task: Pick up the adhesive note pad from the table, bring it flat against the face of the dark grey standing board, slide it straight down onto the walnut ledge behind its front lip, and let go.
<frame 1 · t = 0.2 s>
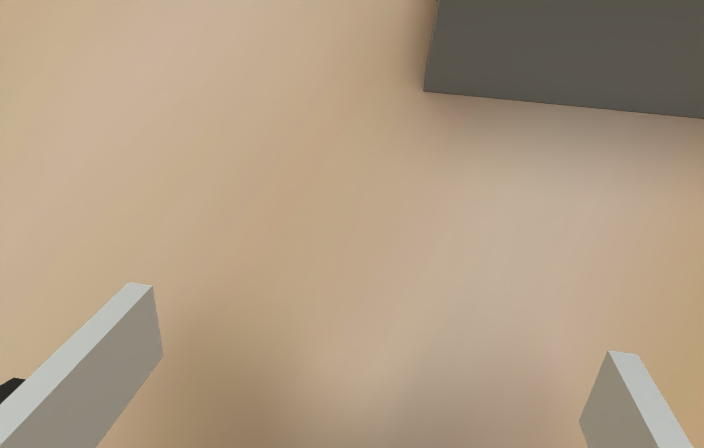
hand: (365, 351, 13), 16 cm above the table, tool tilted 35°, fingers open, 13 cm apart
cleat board: (591, 93, 30), on the table
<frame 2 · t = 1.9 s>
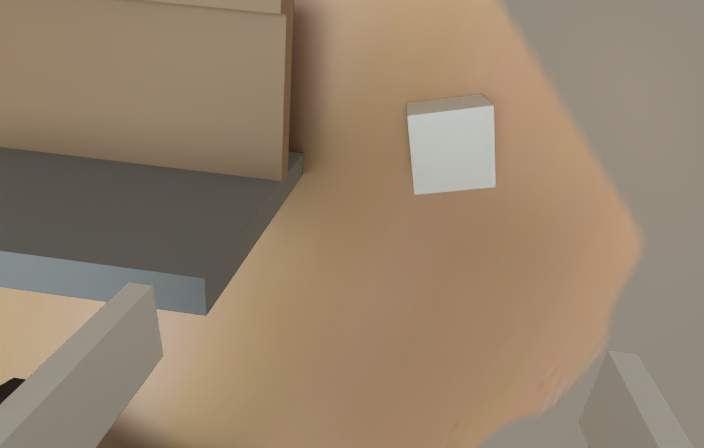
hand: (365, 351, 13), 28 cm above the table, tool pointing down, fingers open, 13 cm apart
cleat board: (183, 149, 41), on the table
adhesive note: (445, 133, 39), on the table
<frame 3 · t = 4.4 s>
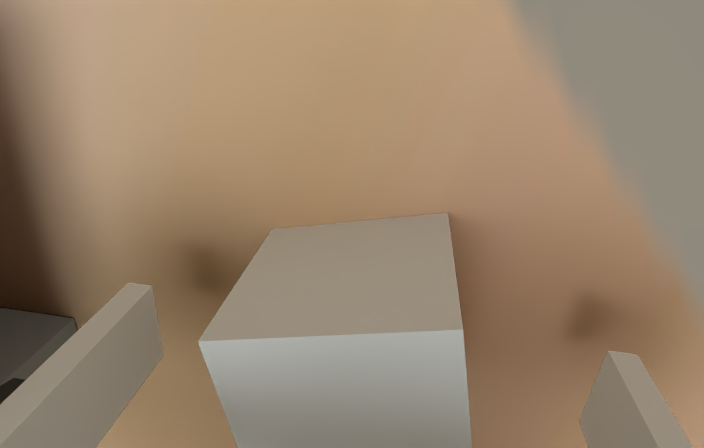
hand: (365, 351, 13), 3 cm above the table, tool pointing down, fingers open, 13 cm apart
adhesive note: (370, 291, 17), on the table
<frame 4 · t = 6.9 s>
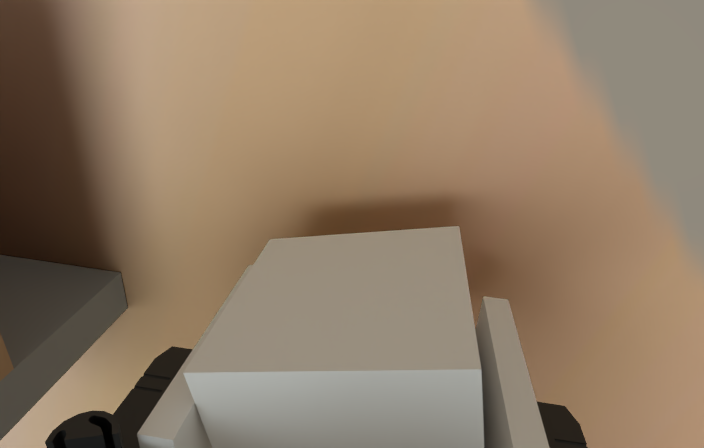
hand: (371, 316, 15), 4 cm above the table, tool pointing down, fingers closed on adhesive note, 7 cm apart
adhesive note: (373, 308, 16), point 3 cm above the table, touching gripper
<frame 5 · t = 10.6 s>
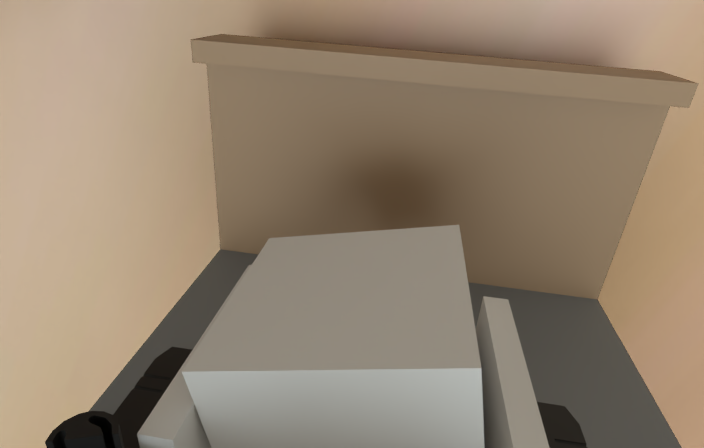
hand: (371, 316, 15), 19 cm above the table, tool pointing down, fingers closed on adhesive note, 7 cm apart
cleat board: (404, 227, 34), on the table
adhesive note: (373, 307, 16), point 18 cm above the table, touching gripper
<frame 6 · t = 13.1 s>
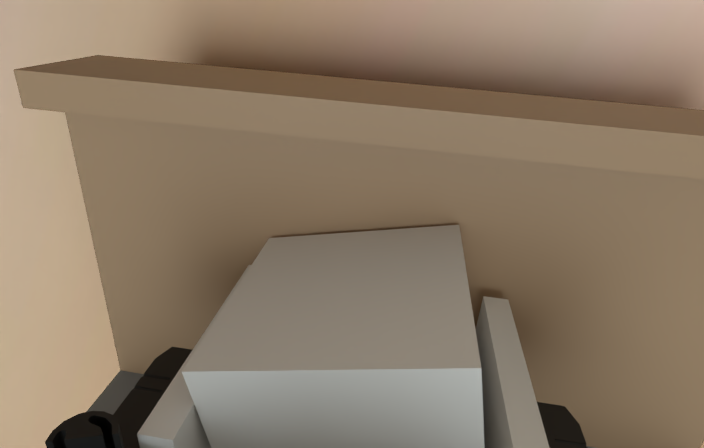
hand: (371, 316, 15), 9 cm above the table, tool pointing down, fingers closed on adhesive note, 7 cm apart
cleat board: (396, 309, 25), on the table
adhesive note: (373, 307, 16), point 8 cm above the table, touching gripper
when the fingers open (8 cm above the table, at t = 13.9 s): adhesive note stays where it is, resting on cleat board.
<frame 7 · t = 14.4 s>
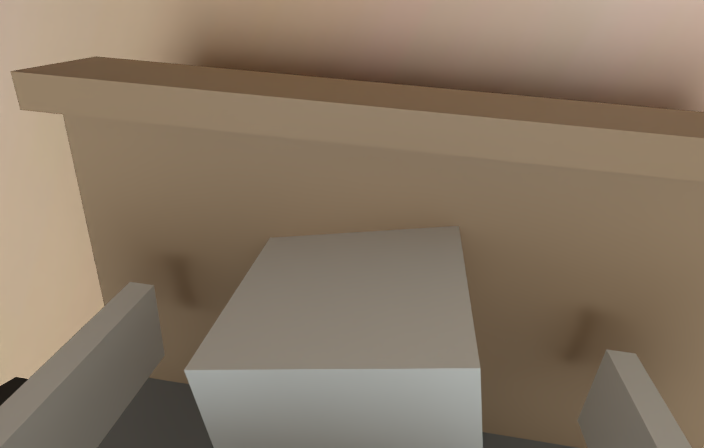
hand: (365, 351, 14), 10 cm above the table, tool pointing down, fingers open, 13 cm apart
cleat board: (396, 311, 25), on the table
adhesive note: (372, 306, 16), point 8 cm above the table, touching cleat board
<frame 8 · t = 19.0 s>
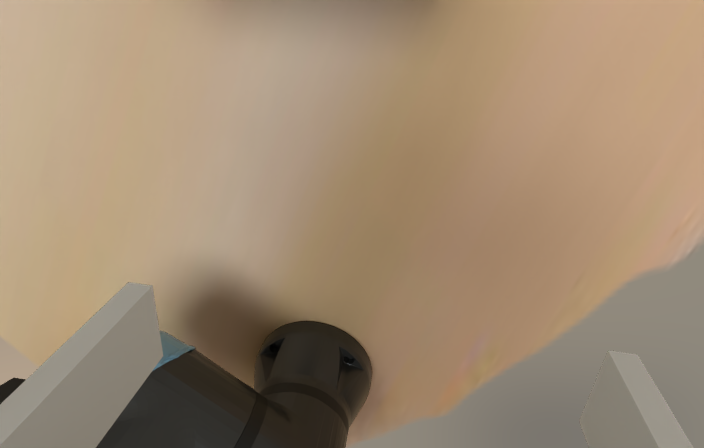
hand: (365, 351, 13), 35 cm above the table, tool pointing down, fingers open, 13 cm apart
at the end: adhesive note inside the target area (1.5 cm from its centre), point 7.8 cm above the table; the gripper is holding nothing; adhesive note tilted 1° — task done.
